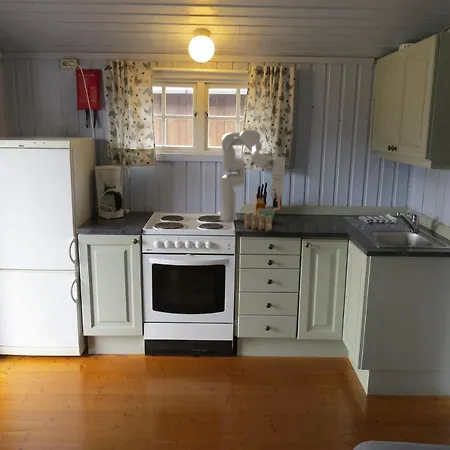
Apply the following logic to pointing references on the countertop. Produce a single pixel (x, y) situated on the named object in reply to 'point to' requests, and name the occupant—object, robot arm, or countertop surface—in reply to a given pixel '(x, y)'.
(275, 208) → the domino
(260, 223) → the domino
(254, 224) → the domino
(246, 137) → the robot arm
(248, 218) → the domino
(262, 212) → the food container
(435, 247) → the countertop surface
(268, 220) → the domino
